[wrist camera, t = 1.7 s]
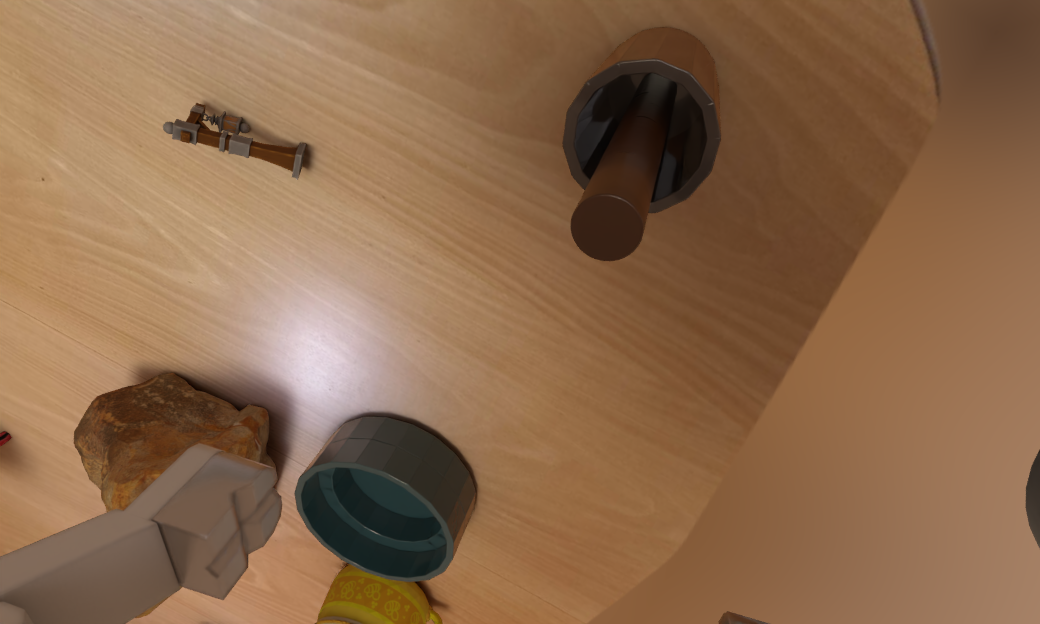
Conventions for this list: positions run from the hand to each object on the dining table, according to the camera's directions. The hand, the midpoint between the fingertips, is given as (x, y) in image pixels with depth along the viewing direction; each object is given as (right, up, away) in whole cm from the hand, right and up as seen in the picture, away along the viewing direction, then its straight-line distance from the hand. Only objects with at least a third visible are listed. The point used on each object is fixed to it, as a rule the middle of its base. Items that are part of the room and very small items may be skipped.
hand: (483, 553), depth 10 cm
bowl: (-10, -10, +43) cm, 46 cm away
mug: (-13, -26, +54) cm, 61 cm away
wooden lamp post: (-17, +16, +29) cm, 37 cm away
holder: (+8, +16, +21) cm, 28 cm away
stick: (+8, +16, +20) cm, 27 cm away
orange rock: (-29, -7, +48) cm, 56 cm away
